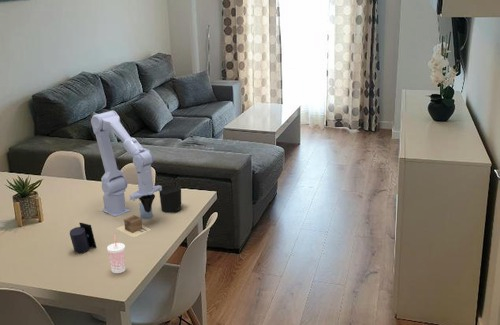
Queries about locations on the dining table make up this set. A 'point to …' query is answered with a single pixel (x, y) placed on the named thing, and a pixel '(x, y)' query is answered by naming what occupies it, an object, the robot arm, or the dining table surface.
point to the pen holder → (170, 198)
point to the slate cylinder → (145, 214)
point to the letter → (134, 232)
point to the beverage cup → (117, 256)
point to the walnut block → (133, 224)
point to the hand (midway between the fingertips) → (147, 211)
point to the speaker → (82, 238)
